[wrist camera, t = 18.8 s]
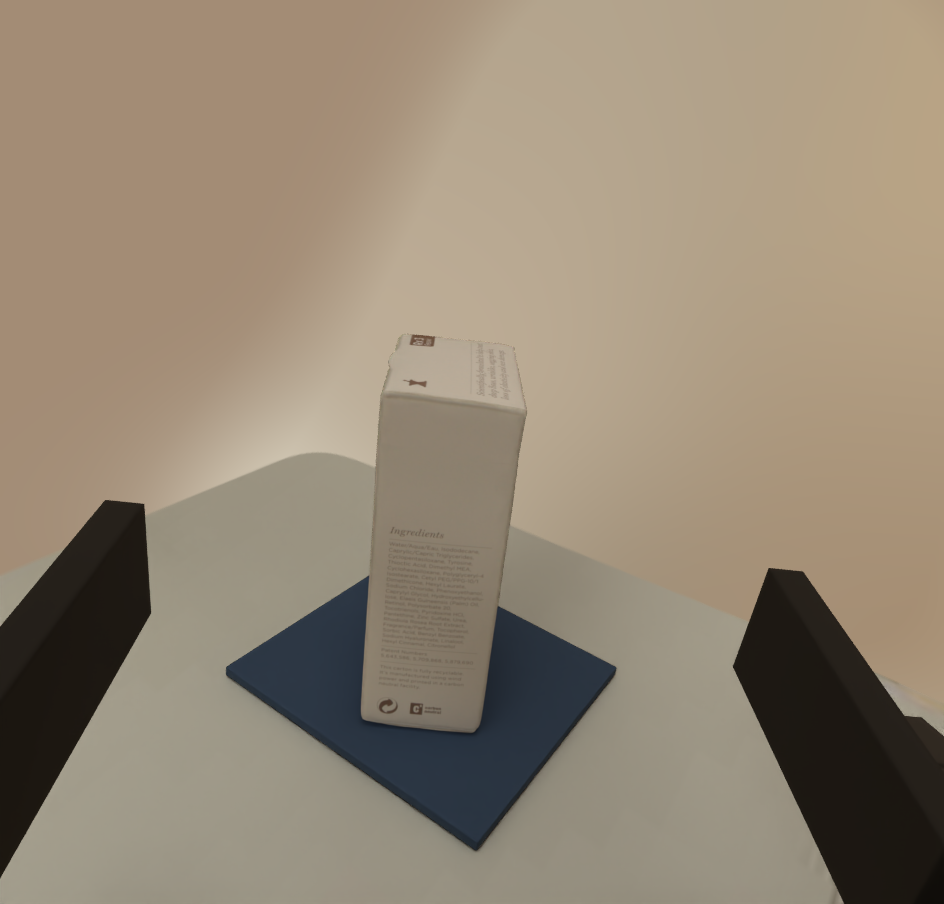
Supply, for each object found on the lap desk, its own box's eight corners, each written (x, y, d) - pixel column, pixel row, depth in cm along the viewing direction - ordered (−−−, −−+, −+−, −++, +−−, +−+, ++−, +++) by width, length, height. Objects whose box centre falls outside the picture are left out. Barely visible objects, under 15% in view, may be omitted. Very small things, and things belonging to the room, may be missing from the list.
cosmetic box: (482, 738, 26) (542, 411, 21) (351, 725, 26) (378, 392, 21) (480, 622, 32) (527, 342, 26) (372, 611, 31) (397, 326, 26)
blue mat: (225, 675, 28) (225, 666, 27) (399, 562, 35) (400, 555, 35) (476, 851, 23) (477, 842, 22) (614, 674, 30) (616, 667, 30)
